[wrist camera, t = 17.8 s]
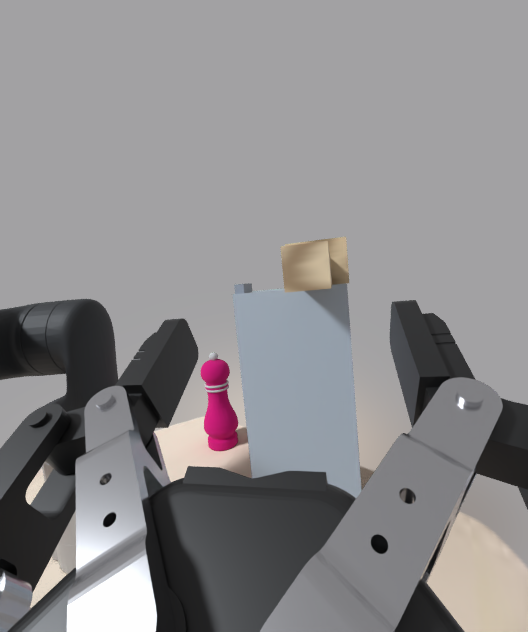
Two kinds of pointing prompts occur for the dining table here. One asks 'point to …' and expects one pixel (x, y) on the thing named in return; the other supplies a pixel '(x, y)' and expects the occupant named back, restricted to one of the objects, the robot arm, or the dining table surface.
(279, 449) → the stand
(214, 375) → the pepper mill
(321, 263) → the t key
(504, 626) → the dining table surface
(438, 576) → the dining table surface
